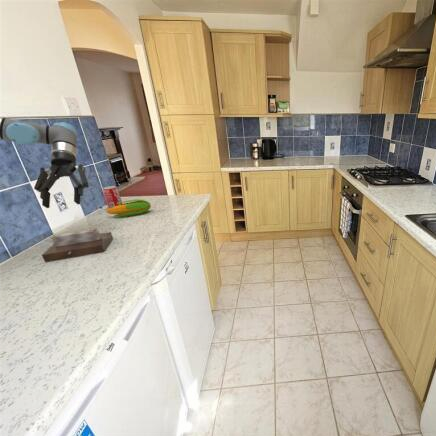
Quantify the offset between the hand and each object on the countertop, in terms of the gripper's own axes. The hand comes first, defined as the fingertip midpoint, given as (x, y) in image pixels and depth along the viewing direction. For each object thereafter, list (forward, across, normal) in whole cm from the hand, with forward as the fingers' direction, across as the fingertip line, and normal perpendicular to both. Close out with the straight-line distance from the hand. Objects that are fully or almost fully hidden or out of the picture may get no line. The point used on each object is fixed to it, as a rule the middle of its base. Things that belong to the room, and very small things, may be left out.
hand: (61, 204), depth 93 cm
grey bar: (+15, -3, -5) cm, 16 cm away
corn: (-7, -14, -31) cm, 35 cm away
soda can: (-18, -4, -42) cm, 46 cm away
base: (+17, -4, -7) cm, 19 cm away
